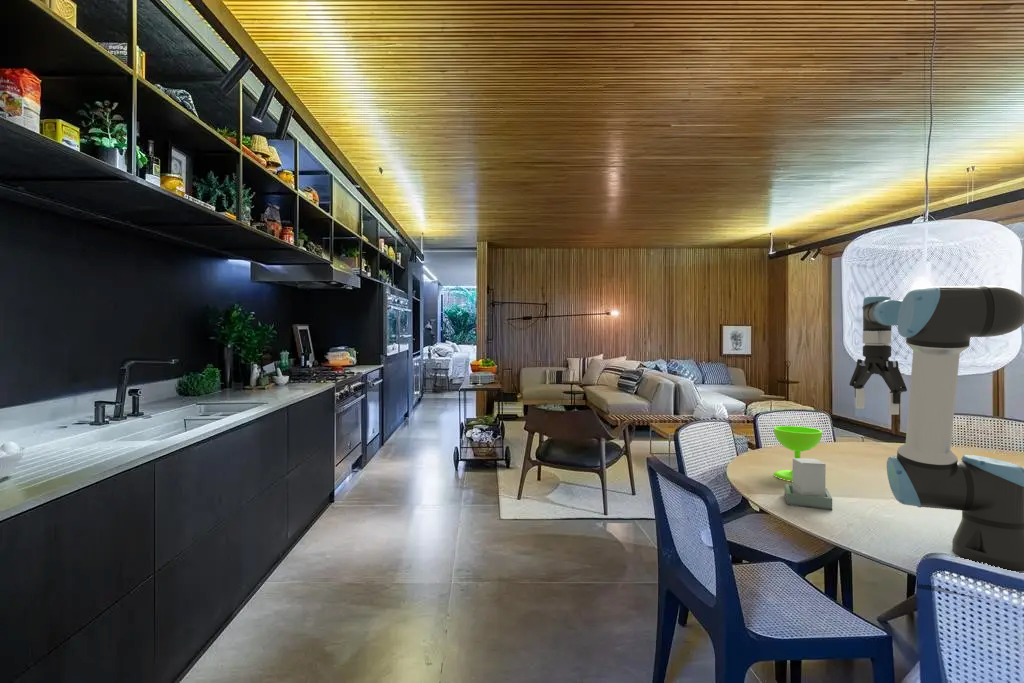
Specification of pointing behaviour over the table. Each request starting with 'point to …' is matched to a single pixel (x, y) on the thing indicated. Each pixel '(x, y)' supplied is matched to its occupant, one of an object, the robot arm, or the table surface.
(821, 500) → the holder
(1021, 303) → the robot arm
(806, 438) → the wineglass
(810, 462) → the supplement box
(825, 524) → the table surface
